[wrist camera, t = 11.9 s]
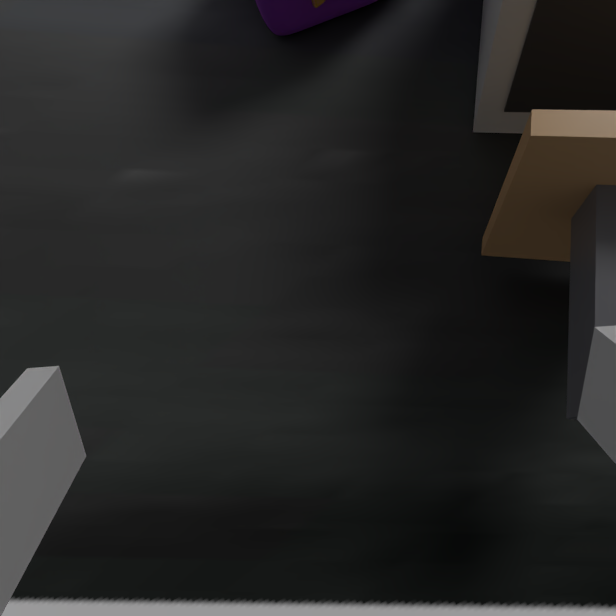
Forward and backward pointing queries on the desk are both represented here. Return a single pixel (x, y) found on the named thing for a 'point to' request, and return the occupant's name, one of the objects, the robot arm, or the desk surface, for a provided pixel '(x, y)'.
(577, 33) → the camera body
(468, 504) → the desk surface
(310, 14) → the toy camera
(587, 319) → the door
